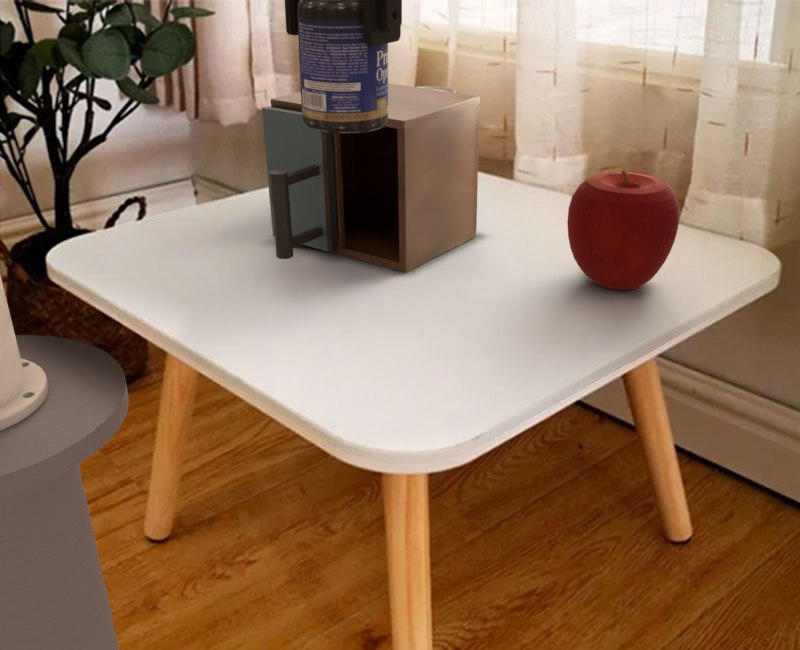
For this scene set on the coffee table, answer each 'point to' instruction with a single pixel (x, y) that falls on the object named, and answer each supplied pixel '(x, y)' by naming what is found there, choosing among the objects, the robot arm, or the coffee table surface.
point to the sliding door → (299, 183)
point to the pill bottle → (340, 69)
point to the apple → (622, 227)
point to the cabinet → (406, 178)
